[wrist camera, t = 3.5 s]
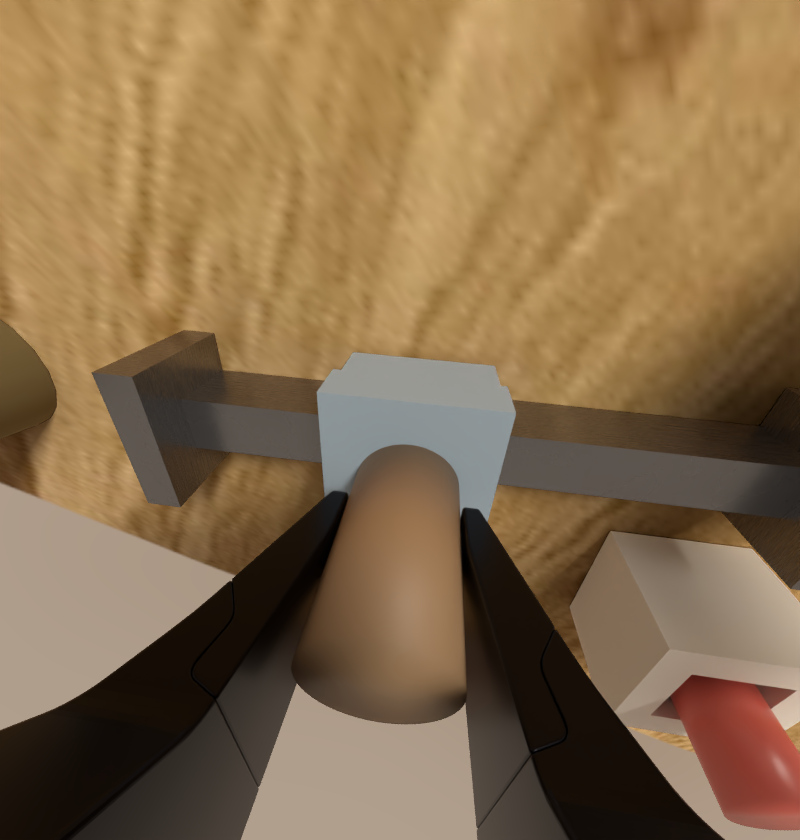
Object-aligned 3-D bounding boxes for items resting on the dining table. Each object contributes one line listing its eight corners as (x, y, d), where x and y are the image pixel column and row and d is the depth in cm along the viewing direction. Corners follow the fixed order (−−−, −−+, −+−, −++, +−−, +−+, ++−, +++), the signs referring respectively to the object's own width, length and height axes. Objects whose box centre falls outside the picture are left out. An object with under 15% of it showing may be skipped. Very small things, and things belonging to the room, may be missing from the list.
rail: (824, 391, 12) (981, 467, 8) (740, 501, 14) (832, 593, 11) (183, 330, 13) (91, 372, 10) (212, 439, 16) (148, 502, 12)
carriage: (497, 355, 12) (582, 614, 4) (470, 480, 15) (493, 768, 7) (353, 341, 12) (197, 559, 5) (354, 466, 15) (260, 726, 8)
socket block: (752, 548, 15) (867, 678, 11) (686, 623, 19) (757, 748, 14) (610, 530, 16) (669, 649, 12) (569, 607, 19) (604, 722, 15)
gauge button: (756, 655, 13) (864, 811, 10) (717, 689, 15) (799, 835, 11) (677, 643, 13) (756, 793, 10) (646, 678, 15) (705, 818, 11)
